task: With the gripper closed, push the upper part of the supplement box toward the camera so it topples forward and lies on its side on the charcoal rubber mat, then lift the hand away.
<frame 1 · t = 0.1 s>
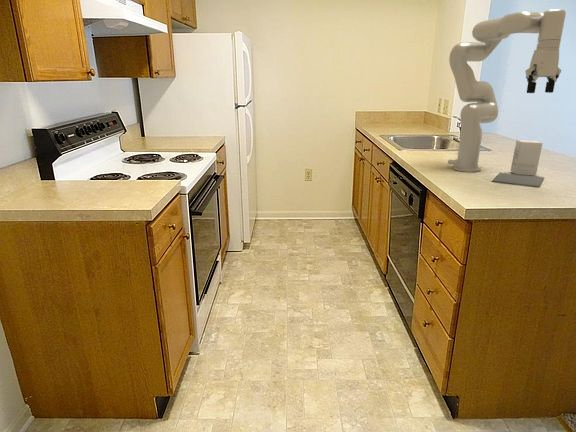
hand: (539, 92, 162), 37 cm above the counter, tool pointing down, fingers open, 9 cm apart
mat: (518, 180, 181), on the counter
supplement box: (522, 173, 193), on the counter, touching mat
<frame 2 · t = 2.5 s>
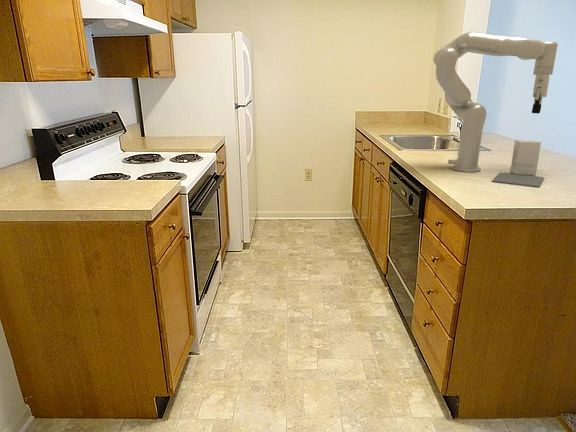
hand: (535, 113, 192), 27 cm above the counter, tool pointing down, fingers closed
nothing on the counter moved.
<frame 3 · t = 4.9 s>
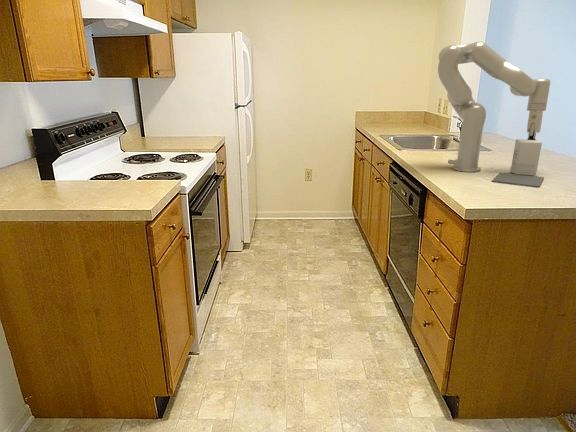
hand: (530, 147, 195), 12 cm above the counter, tool pointing down, fingers closed
supplement box: (522, 173, 192), on the counter, touching gripper, mat
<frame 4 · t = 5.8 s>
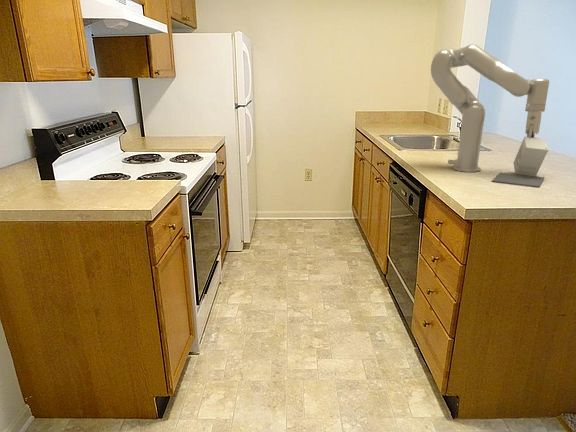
hand: (528, 149, 190), 12 cm above the counter, tool pointing down, fingers closed
supplement box: (524, 169, 191), point 2 cm above the counter, touching gripper, mat
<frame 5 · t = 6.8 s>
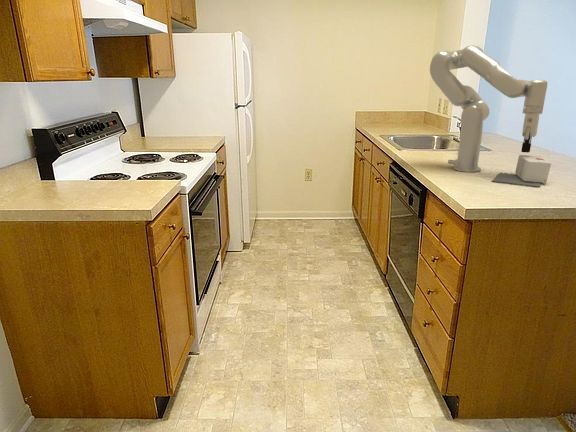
hand: (525, 151, 185), 11 cm above the counter, tool pointing down, fingers closed
supplement box: (527, 164, 187), point 5 cm above the counter, touching mat
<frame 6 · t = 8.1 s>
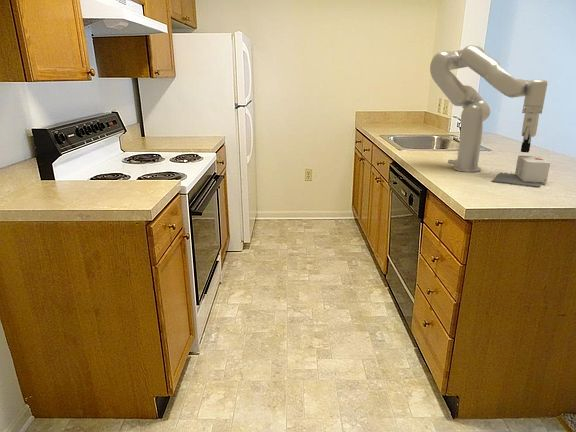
hand: (524, 151, 185), 11 cm above the counter, tool pointing down, fingers closed
nothing on the counter moved.
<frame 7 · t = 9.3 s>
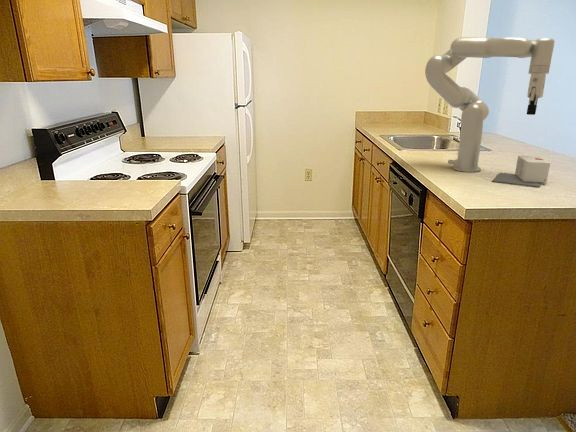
hand: (530, 114, 181), 27 cm above the counter, tool pointing down, fingers closed
nothing on the counter moved.
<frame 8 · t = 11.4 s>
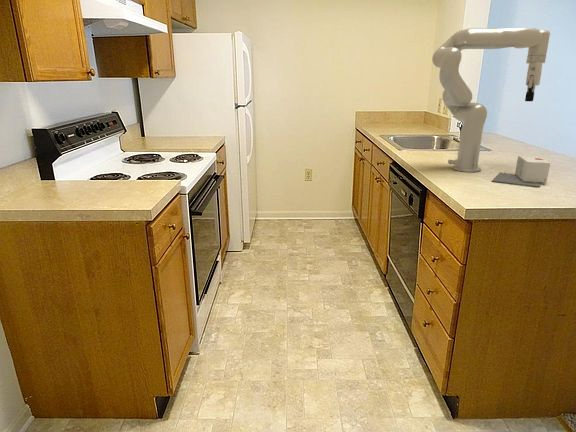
hand: (528, 101, 195), 32 cm above the counter, tool pointing down, fingers closed
nothing on the counter moved.
at the end: supplement box tilted 90°; supplement box touching mat; supplement box inside the target area (5.5 cm from its centre), point 5.1 cm above the counter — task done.
